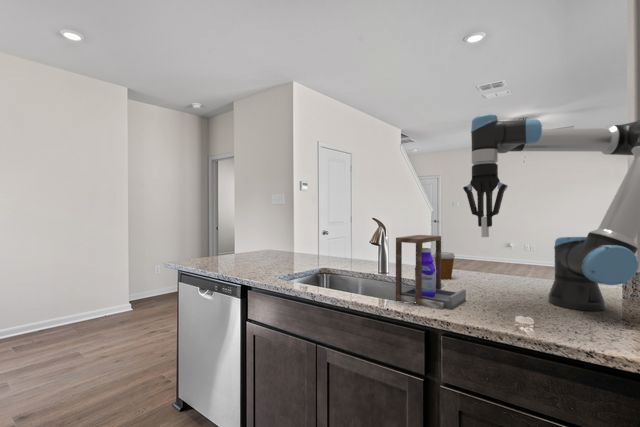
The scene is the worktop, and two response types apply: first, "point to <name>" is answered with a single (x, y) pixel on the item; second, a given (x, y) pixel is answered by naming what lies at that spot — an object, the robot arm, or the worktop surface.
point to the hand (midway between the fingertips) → (485, 236)
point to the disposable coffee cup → (446, 264)
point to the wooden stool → (418, 269)
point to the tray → (442, 297)
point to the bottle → (427, 274)
